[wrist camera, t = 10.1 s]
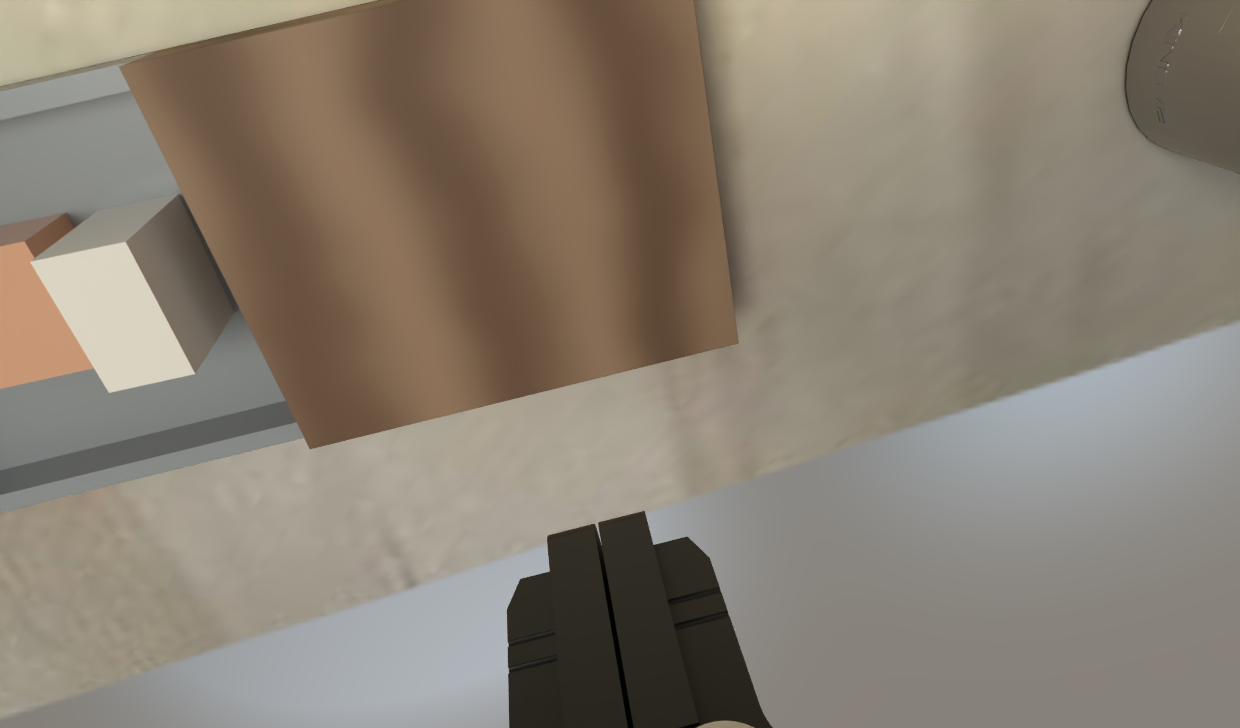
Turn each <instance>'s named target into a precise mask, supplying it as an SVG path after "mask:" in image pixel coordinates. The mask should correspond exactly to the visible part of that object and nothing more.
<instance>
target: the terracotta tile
mask: <svg viewBox="0 0 1240 728" xmlns="http://www.w3.org/2000/svg"><path fill="white" fill-rule="evenodd" d="M73 229H74V227H73V225H72V223H71V222H70V220H69V218H68V216H67V214H66V213H61V214H56V215H51V216H47V217H42V218H37V219H33V220H28V221H23V222H18V223H14V224H9V225H4V226H0V389H2V388H7V387H11V386H16V385H20V384H25V383H30V382H34V381H39V380H43V379H48V378H52V377H57V376H61V375H66V374H70V373H75V372H79V371H84V370H88V369H93V368H94V367H93V366H92V364H91V362H90V361H89V359H88V357H87V356H86V354H85V352H84V351H83V349H82V347H81V346H80V344H79V342H78V341H77V339H76V337H75V336H74V334H73V332H72V331H71V329H70V327H69V326H68V324H67V323H66V321H65V319H64V318H63V316H62V314H61V313H60V311H59V309H58V308H57V306H56V304H55V303H54V301H53V299H52V298H51V296H50V294H49V293H48V291H47V289H46V288H45V286H44V284H43V283H42V281H41V279H40V278H39V276H38V274H37V273H36V271H35V269H34V268H33V266H32V264H31V263H30V261H32V260H33V259H34V258H36V257H37V256H38V255H40V254H41V253H42V252H44V251H45V250H46V249H48V248H49V247H50V246H52V245H53V244H54V243H56V242H57V241H58V240H60V239H61V238H62V237H64V236H65V235H66V234H68V233H69V232H70V231H72V230H73Z"/></svg>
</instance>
